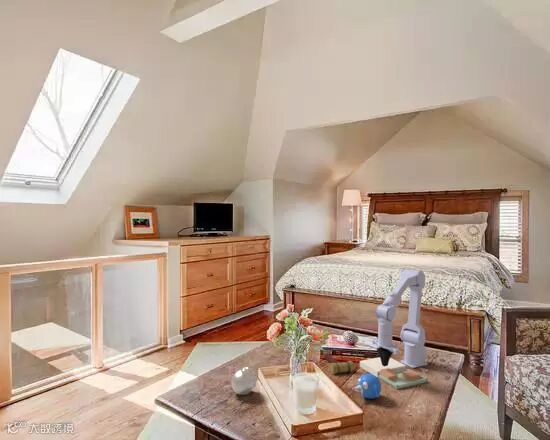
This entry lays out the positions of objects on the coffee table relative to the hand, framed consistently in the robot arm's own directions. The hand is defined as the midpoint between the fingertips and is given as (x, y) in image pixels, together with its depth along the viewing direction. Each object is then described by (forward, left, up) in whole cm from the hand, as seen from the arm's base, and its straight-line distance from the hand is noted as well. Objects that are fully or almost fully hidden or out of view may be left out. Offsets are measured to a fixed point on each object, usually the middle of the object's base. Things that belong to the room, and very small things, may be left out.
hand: (384, 365), depth 152 cm
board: (-5, -7, -5) cm, 10 cm away
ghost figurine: (+60, -10, -5) cm, 61 cm away
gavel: (+13, -19, -6) cm, 24 cm away
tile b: (0, +2, -4) cm, 4 cm away
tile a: (-9, +6, -3) cm, 11 cm away
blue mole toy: (+19, +11, -5) cm, 23 cm away
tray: (-5, +5, -5) cm, 9 cm away
